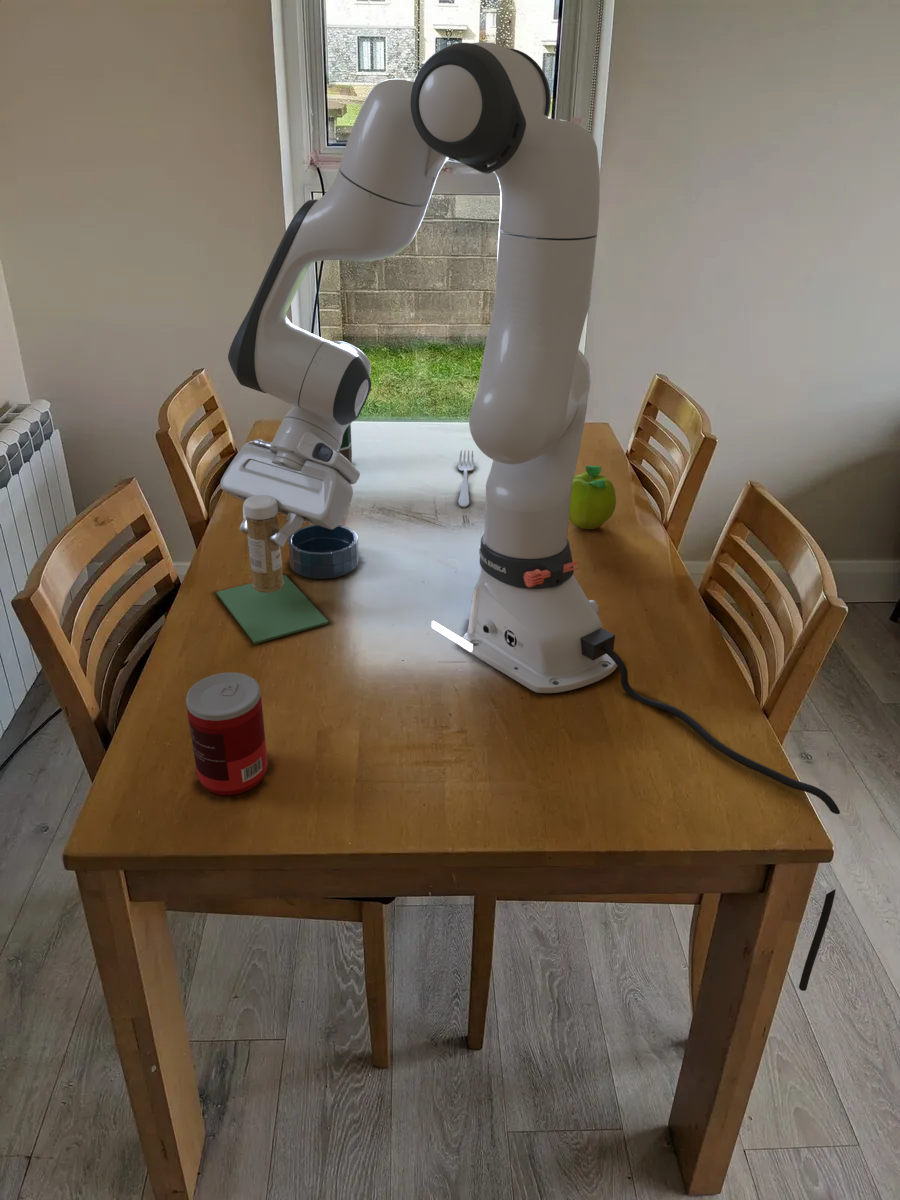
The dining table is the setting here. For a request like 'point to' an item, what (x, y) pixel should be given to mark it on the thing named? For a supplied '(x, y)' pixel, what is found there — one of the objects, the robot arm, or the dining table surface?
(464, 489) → the fork
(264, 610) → the green mat
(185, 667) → the dining table surface
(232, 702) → the canned food
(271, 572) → the sprinkles bottle
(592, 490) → the fruit
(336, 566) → the dark blue bowl
